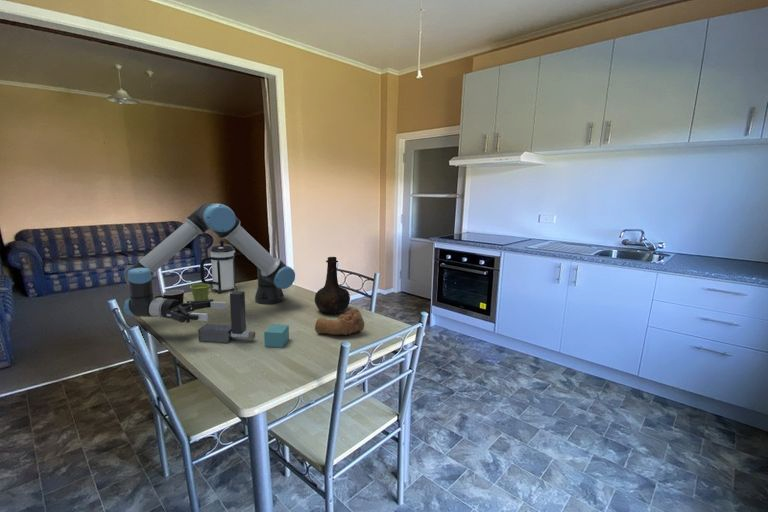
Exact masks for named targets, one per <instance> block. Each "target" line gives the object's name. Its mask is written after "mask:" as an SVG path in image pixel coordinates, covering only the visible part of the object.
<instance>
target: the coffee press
mask: <svg viewBox="0 0 768 512" xmlns="http://www.w3.org/2000/svg"><path fill="white" fill-rule="evenodd" d="M233 246H234V245H232V244H227V243H225V241H224V239H223V240H222V239H221V240H219V244H218V243H217V244H214V245H212V246H211V247H210V249H209V252H210V256H206V257H204V258H202V259H201V261H200V262H199V263H200V264H199V272H200V282H202V284H209V285H210V286H211V285H212V287H211V288H210V290H211V291H214V290H216V291H217V294H222V292H223V291H229V290H231V289H232V290H234V291H238V287H237V286H236V275H235V273H236V272H235V254H236V253H237V252H236V250H235V248H234V247H233ZM207 261H211V262H210V263H211V278H212V280H211V281H207V280H206V277H205V263H206V262H207Z"/></svg>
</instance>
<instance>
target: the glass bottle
mask: <svg viewBox="0 0 768 512" xmlns="http://www.w3.org/2000/svg"><path fill="white" fill-rule="evenodd" d="M325 262H326V263H327V268H326V269H327V270H326V278H325V283H324V286H322V288H320V289H318V290H317V292H316V293H315V295H314V303H315V305H316V307H317V309H318V310H320V312H322V313H324V312H325V314H328V313H336V314H339V313H338V312H340V313H342V312H343V311H345V310H346V309H347V308H348V307H349V305H350V302H351V301H350V300H351V295H350V292H349V291H348V289H346V288H343V287H341V286H340V285H339V281H338V271H337V263H338V262H339V260H337V257H336V256H328V257H327V260H325ZM341 311H342V312H341Z"/></svg>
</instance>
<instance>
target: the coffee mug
mask: <svg viewBox="0 0 768 512" xmlns="http://www.w3.org/2000/svg"><path fill="white" fill-rule="evenodd" d="M184 293H185V291H184V290H183V289H172V290H166V291H164V292H163V293H162V295H157V296H155V297H154V298H161V299H176V300H178V301H179V302H180V303H181V304H182V303H184V299H185V296H184V295H185V294H184Z"/></svg>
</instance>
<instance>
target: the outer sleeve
mask: <svg viewBox="0 0 768 512" xmlns="http://www.w3.org/2000/svg"><path fill="white" fill-rule="evenodd" d="M231 330H232V328H231V324H219V323H217V324H216V323H214V324H213V323H206V324H204V325H203V326H201V327H200V328H198V331H197V333H198V342H204V343H221V344H229V343H231V342H232V341H233V340H234V339H235V338H230V335H229V331H231Z"/></svg>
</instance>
